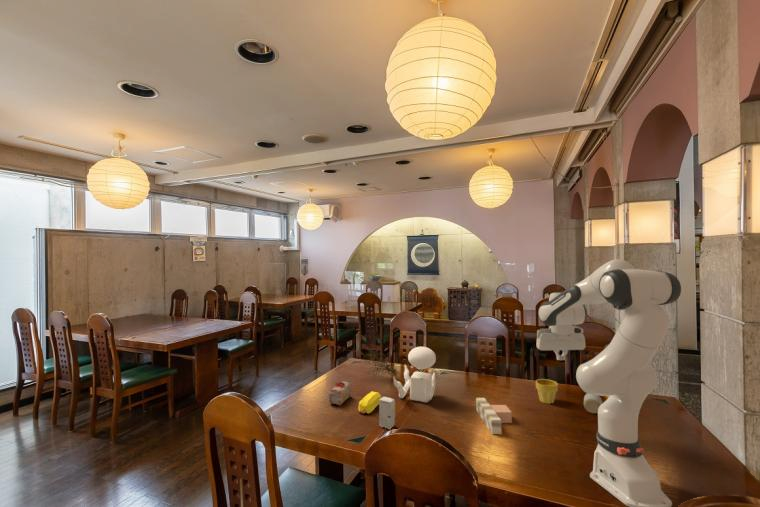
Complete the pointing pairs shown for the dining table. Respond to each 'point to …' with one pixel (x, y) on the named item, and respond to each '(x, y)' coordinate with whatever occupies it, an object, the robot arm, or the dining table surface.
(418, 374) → the figurine
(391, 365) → the dried plant
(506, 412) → the peach block
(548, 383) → the plant pot
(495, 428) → the white segmented block row
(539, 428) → the dining table surface
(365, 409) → the yellow rounded capsule
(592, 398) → the ceramic mug
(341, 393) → the food item
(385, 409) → the skincare box
